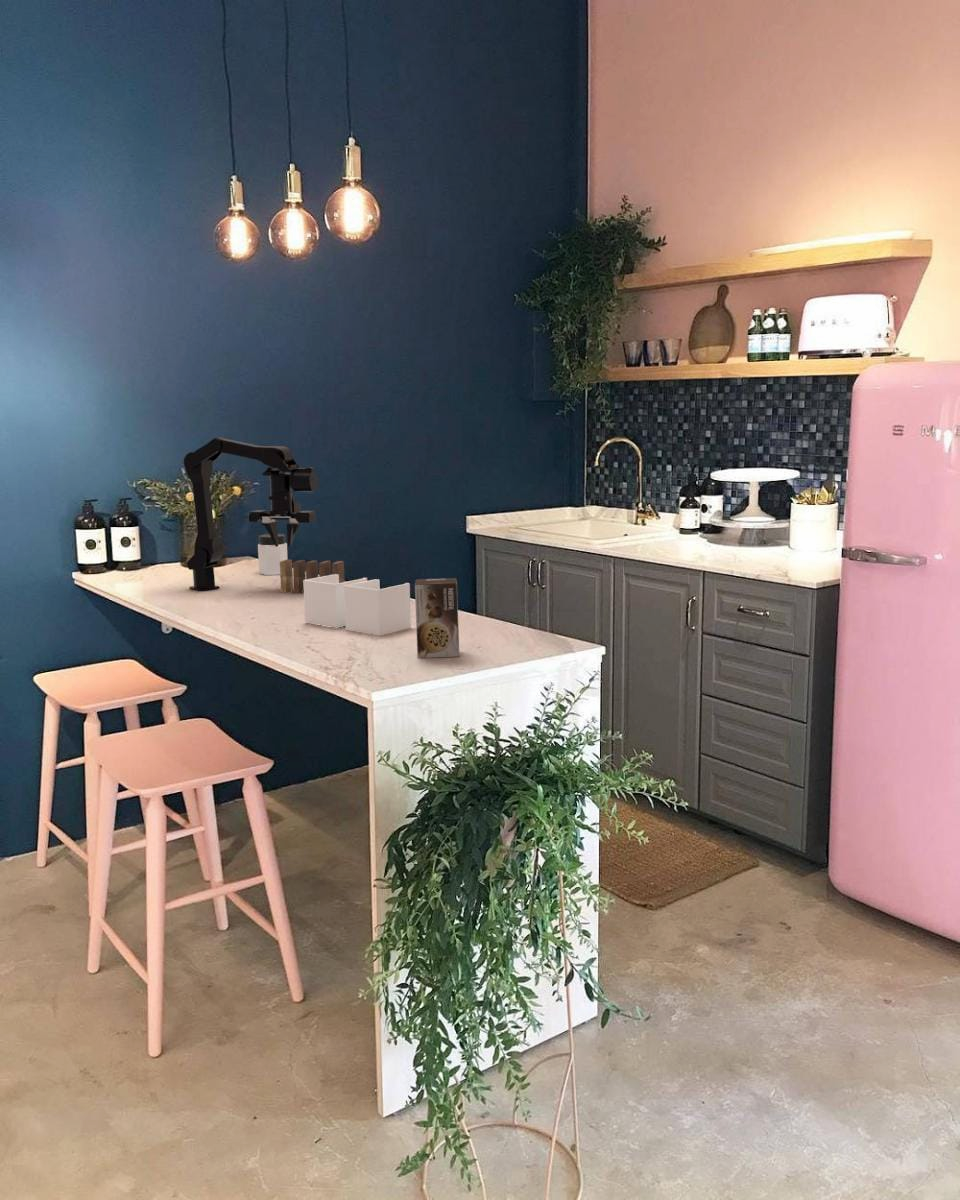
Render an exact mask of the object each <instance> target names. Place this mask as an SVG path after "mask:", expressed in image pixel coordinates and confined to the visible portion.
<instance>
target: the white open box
mask: <svg viewBox="0 0 960 1200" xmlns="http://www.w3.org/2000/svg"><path fill="white" fill-rule="evenodd" d="M303 586H304V592H303V601H304V623H305V622H307V623H313V624H320V625H325V626H331V627H335V628H338V627H342V626H346V627H345V630H346V629H347V630H351V631H350V632H353V631H357V632H356V633H359V632H363V633H362V634H365V633H368V634H367V635H371V634H373V635H372V636H377V635H378V637H380V635H381V636H384V634H385V635H388V633H389V634H391V633H396V632H400V631H403V630H408V629H411V628H412V624H411V623H412V622H411V618H412V617H411V616H412V615H411V584H410V583H409V582H404V583H403V584H398V585H394V586H393V585H392V586H388V587H385V588H381V587H380V579H378V578H377V579H370V580H368V577H362V578H358V579H353V580H349V581H345V582H343V583H339V575H338V574H334V575H333V574H331V575H329V576H323V577H319V576H318V578H313V579H307V580H303ZM335 628H334V629H335ZM342 628H343V627H342ZM338 629H339V628H338ZM347 630H346V631H347Z"/></svg>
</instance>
